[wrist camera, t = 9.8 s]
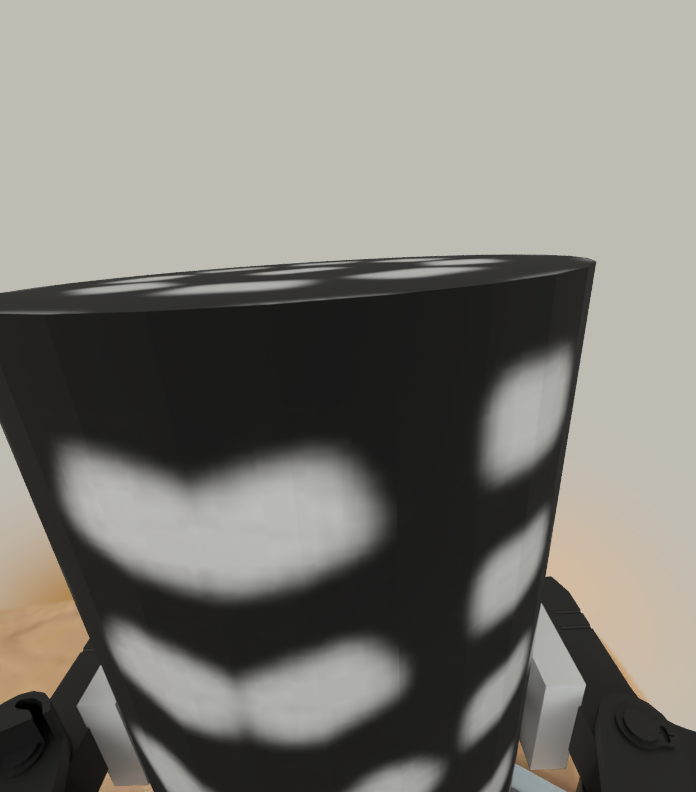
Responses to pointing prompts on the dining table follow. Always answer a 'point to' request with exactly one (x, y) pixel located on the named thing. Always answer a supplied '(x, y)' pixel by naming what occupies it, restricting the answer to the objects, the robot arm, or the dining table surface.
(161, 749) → the white-spotted black cylinder
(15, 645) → the dining table surface
